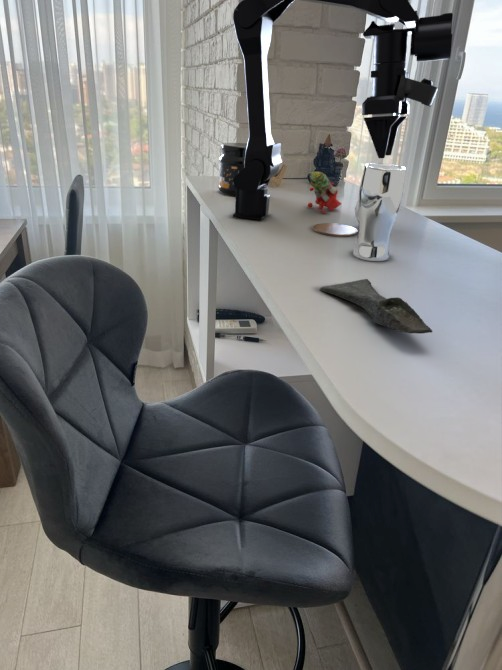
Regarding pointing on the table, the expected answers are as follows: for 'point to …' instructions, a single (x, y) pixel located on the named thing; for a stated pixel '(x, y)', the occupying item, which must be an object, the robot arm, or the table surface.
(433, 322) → the table surface
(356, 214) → the white sphere
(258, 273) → the table surface
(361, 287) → the tool
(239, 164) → the supplement container
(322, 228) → the coaster
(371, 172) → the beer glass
